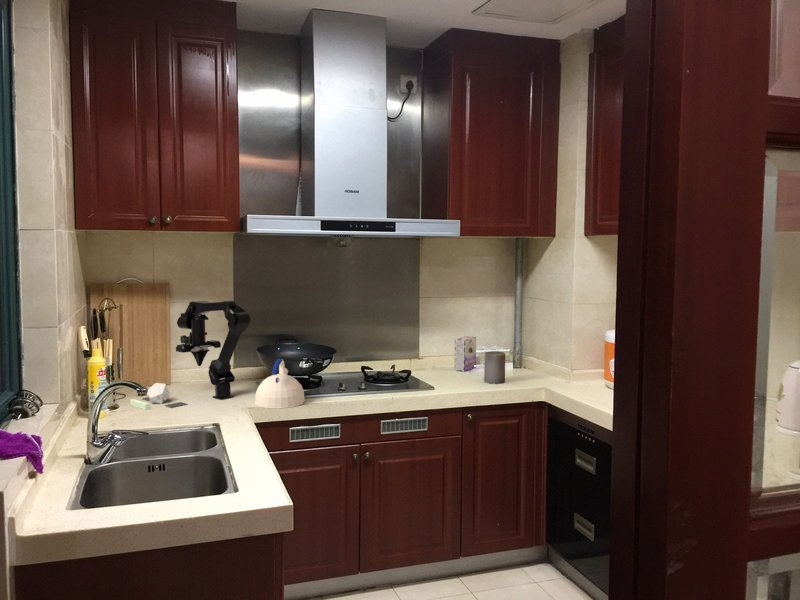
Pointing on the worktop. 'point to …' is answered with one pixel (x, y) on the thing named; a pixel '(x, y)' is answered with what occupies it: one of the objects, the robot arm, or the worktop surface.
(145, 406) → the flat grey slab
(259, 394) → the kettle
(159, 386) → the die
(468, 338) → the candy box
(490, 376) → the pillar candle
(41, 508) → the worktop surface
